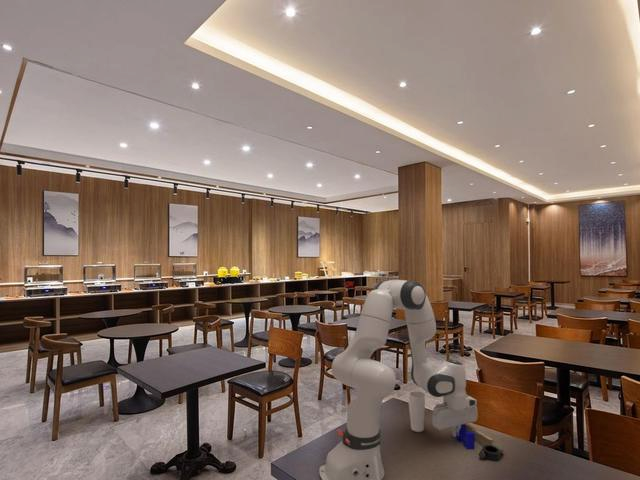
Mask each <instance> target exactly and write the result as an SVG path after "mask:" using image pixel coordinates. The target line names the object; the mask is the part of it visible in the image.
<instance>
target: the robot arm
mask: <svg viewBox="0 0 640 480" xmlns="http://www.w3.org/2000/svg"><path fill="white" fill-rule="evenodd" d="M394 309H396V310H397V309H398V310H403V311H404V317H405V321H406V327H407V331H408V332H407V333H408V340H409V341H408V343H409V348H410V357H411V370H410V377H411V381H412V382H413V383H414V384H415V385H416V386H417V387H419V388H421V389H422V390H424V391H425V392H426V393H428V394H429V395H430V396H433V397H434V398H441V397H442V403H437V404H435V406H434V407H433V410H432V419H431V420H432V421H431V422H432V426H433V427H434V428H435V429H436V430H440V431H441V430H444V429H448V428H450V430H451V434H452V436H453V438H455V437H456V436H459V430H460V428H461V425H462V424H472V423H474V422H477V420H478V415H479V413H478V406H477V403H478V402H477V401H478V400H477V399H475V398H474V397H472V396H470V395H468V394H467V391H466V386H467V375H466V368H465V366H464V365H465V364H463V363H462V362H460V361H458V360H456V359H450V358H445V359H444V360H443V362H442V363H441V364H440V365H439V366H437V367H435V368H434V367H433V366H432V365H431V364H430V361H428V358H427V348H426V341H427V342H428V341H430V340H431V339H432V338H433V337H435V335H436V333H437V323H436V319H435V314H434V310H433V308H432V304H431V302H430V300H429V297H428V295H427V294H426V290H425V288H424V287H423V285H422V284H421V282H418V281H415V280H411V279H409V280H406V279H405V280H404V279H390V280H388V279H387V280H385V279H384V280H382V281H379V282H378V283H377V284H376V285H375V287H374V289H373V290H370V291H369V292H368V295H367V296H366V299H365V300H364V303H363V305H362V309H361V313H360V316H359V319H358V324H357V326H356V331H355V334H354V336H353V338H352V340H351V342H350V343H349V345H348V346H347V347H346V349H344V351H343V352H340V353H339V354H337V355H336V356H335V357H334V359H333V360H332V362H331V374H332V376H333V377H334V379H336V380H338V381H339V382H340V383H341V384H343V385H344V386H347V387H350V388H353V389H355V390H356V393H357V396H356V399H353V400H351V401H350V402H349V404H348V405H347V407H346V427H345V431H343V430H342V429H337V431H336V434H337V436H338V437H339V438H342V440H340V442H339V443H337V445H336V446H334V447H333V448H332V449H331V450H330V451H329V452H328V454H327V456H326V459H325V464H323V465H320V467H319V469H318V476H319V475H320V476H319V478H320V477H321V479H322V480H383V478H384V476H385V470H384V465H383V462H382V456H381V455H382V454H381V430H380V407H381V404H382V402H383V400H384V399H385V398H386V397H387V398H388V397H389V396H390V395H391V394H392V392H394V389H395V387H396V383H397V377H396V374H395V371H394V370H393V368H392V367H390V366H388V365H386V364H385V363H383V362H381V361H379V360H378V361H377V360H374V359H371V357H372V355H373V354H374V352H376V351H377V350H378V349H381V348H383V347H384V346H385V345H386V343H387V339H388V334H389V331H390V326H391V322H392V317H393V311H394ZM321 479H320V480H321Z"/></svg>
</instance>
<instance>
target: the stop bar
mask: <svg viewBox="0 0 640 480" xmlns="http://www.w3.org/2000/svg"><path fill="white" fill-rule="evenodd" d="M465 428H466V431H467V432H474V434H475V442H476V443H478V444H480V445H481V446H482V447H483V446H485V445H492V446H495V445H494V438H493V437H490V436H489V435H487V434H485V433H484V432H482V431H481V430H479V429H477V428H475V427H474V426H472V425H470V423H467V424H465Z"/></svg>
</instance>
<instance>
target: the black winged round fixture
mask: <svg viewBox="0 0 640 480" xmlns="http://www.w3.org/2000/svg"><path fill="white" fill-rule="evenodd" d="M504 452H505V451H504V449H500V448H499V447H497V446H495V445H494V446H492V445H485V446H482V449H481V450H480V451H479V453H478V457H479V458H480V459H482V460H483V459H486V460H487V461H490V462H500V460H501V453H504Z"/></svg>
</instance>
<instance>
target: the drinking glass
mask: <svg viewBox="0 0 640 480" xmlns="http://www.w3.org/2000/svg"><path fill="white" fill-rule="evenodd" d="M408 409H409V417H410V429H411V431H413V432H416V433H421V432H423V431H424V429H425V427H424V426H425V413H426V412H425V411H426V397H425V393H424V392H422V391H419V390H411V391H409V393H408Z"/></svg>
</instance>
